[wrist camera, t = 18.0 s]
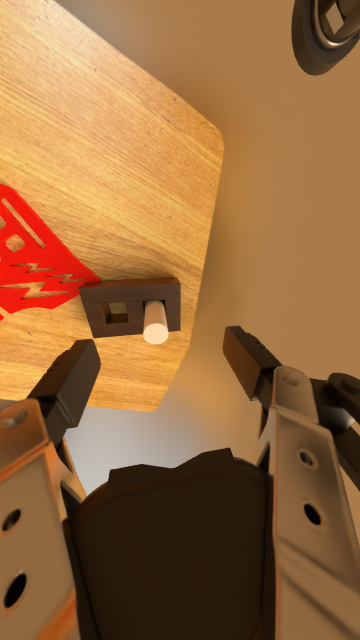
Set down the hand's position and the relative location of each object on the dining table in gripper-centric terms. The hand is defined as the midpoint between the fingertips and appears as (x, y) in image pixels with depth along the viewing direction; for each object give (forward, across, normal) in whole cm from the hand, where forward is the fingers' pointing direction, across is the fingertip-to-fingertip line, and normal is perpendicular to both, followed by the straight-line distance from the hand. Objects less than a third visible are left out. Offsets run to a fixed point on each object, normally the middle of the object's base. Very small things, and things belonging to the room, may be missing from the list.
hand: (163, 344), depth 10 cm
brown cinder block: (+30, +6, +10) cm, 32 cm away
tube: (+30, +1, +10) cm, 32 cm away
